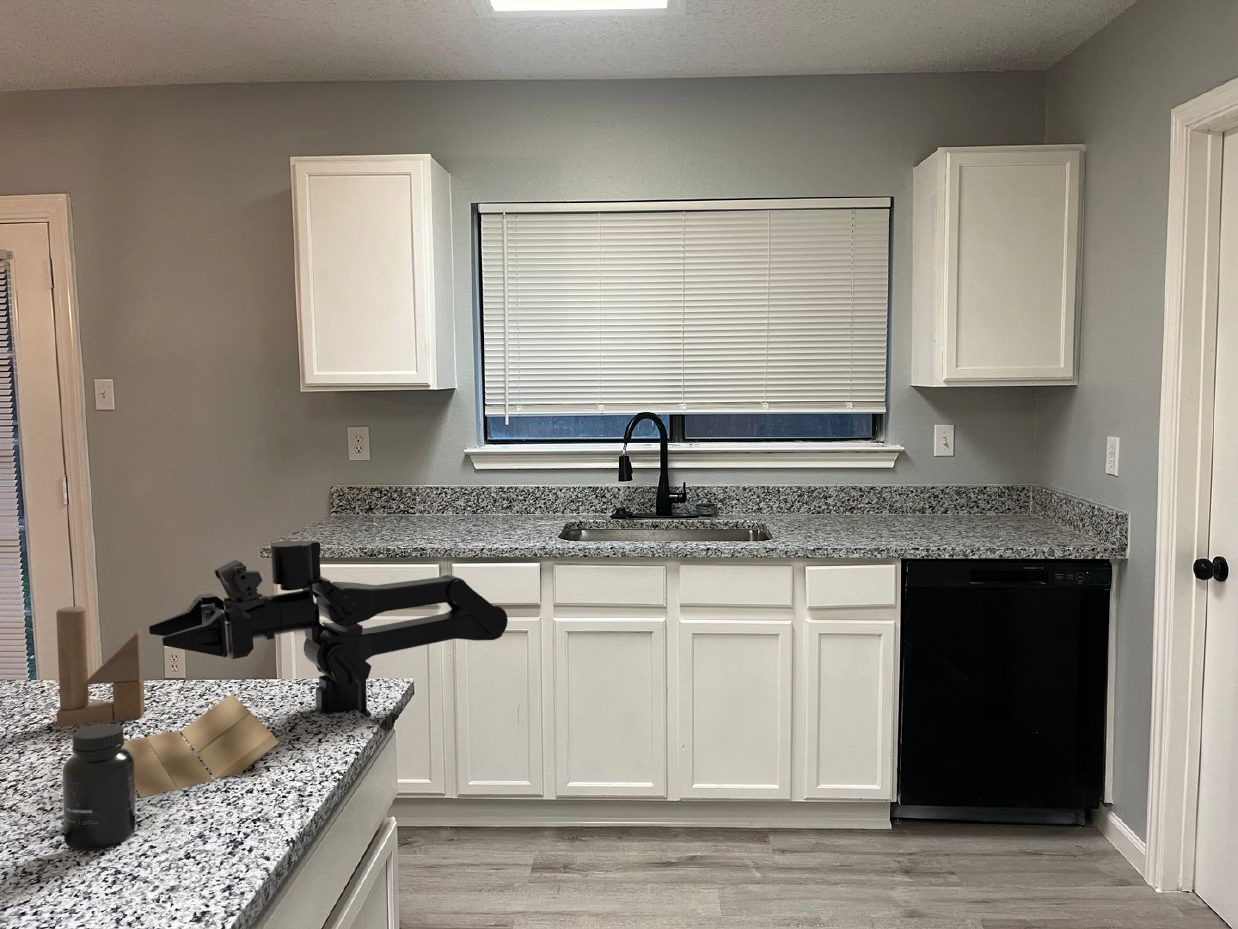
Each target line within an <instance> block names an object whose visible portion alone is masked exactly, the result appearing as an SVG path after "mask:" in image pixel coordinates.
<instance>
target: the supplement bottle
mask: <svg viewBox="0 0 1238 929" xmlns="http://www.w3.org/2000/svg"><path fill="white" fill-rule="evenodd" d="M124 741H125V737H124V728H123V726H122V725H120V724H116V723H97V724H94V725H90V726H89V725H88V726H85V727H83V728H80V729H77V731H75V732H74V733H73V734H72V747H71V748H72V753H73V754H74V755H72V756H71V757H69V759H68V760H66V762H65V764H64V765H63V768H62V802H63V805H62V806H63V810H62V811H63V832H64V834H63V835H64V836H63V840H64V842H65V844H66V846H67V847H68V848H70V849H73V850H76V851H88V852H89V851H97V850H102V849H107V848H109V847H112V846H115V845H118V844H120V843H122V842H123V841H125V840H127V839H129V837H130V836H131V835H132V834H133V833H134V831H135V830H136V787H135V768H134V756H133V755H132V753H131V752H130V751H129V750H127V749H126V748H123V747H122V746H123V745H124Z"/></svg>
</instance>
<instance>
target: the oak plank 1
mask: <svg viewBox="0 0 1238 929" xmlns="http://www.w3.org/2000/svg"><path fill="white" fill-rule="evenodd" d="M251 713H252V712H251V710H249V709H248V708H247V707H246V706H245V705H244V704H243V703H242V702H241V701H240V700H239V699H238V698H237V697H236V696H235V695H234V694H233V693H231V694H229V695H228V696H227V697H225V698H224V699H223V700H221V701H220V702H218V704H216V705H214V706H213V707H212V708H210V709H209V710H208V711H207V712H205V713H203V714H202V715H201V716H200V717H198V718H197V719H195V720H194V721H192V722H191V723H190V724H188V725H187V726H186V727H184V728H183V729H182V730H180V732H181V735H183V737H184V738H185V739H186V741H187V742H188V743H189V744H190V746H191V747H192V748H193V750H194V751H195V752H196V754H198V753H199V752H200V751H202V750H203V749H204V748H206V747H207V746H208V745H210V744H211V743H212V742H214V741H215V740H216V739H218V738H219V737H220V736H222V735H223V734H224V733H226V732H227V731H228V730H230V729H231V728H232V727H234V726H235V725H236V724H238V723H239V722H240V721H242V720H243V719H244V718H246V717H247V716H248V715H250V714H251Z"/></svg>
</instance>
